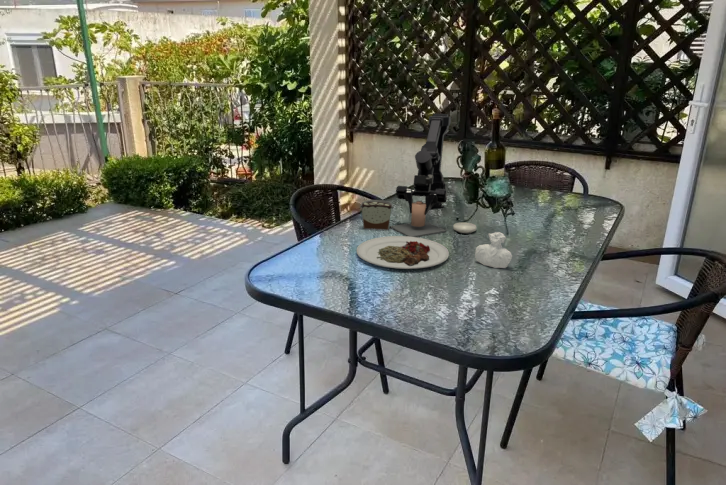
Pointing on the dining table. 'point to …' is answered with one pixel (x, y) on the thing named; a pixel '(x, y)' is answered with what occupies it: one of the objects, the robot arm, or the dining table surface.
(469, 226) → the cream ceramic bowl
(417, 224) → the peach pillar candle
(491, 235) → the white tied sack
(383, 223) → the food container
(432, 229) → the rubber mat
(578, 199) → the dining table surface
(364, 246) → the plated food
